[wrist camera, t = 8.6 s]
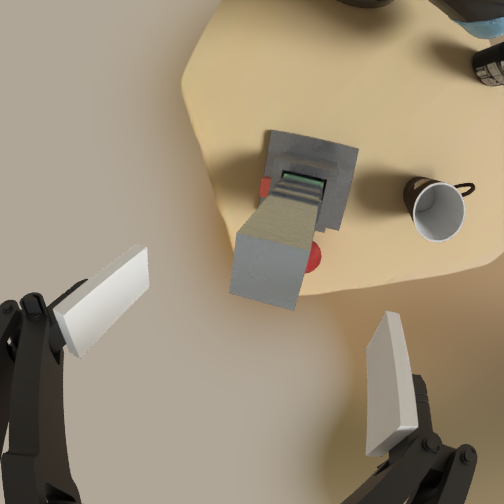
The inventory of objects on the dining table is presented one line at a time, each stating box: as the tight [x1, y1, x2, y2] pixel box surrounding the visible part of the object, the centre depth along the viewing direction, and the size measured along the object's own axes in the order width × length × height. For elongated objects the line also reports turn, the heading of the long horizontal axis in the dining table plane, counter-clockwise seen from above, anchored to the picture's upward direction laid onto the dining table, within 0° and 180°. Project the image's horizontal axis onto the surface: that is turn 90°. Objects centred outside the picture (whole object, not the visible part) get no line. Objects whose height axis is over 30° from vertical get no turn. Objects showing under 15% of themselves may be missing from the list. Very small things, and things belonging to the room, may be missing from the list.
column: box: [229, 172, 324, 311], centre depth 27 cm, size 5×5×22 cm
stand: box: [259, 130, 359, 233], centre depth 39 cm, size 14×14×12 cm
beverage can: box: [473, 42, 504, 86], centre depth 21 cm, size 7×7×12 cm
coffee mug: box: [403, 177, 475, 242], centre depth 35 cm, size 12×9×10 cm
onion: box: [305, 241, 321, 273], centre depth 46 cm, size 6×6×8 cm
